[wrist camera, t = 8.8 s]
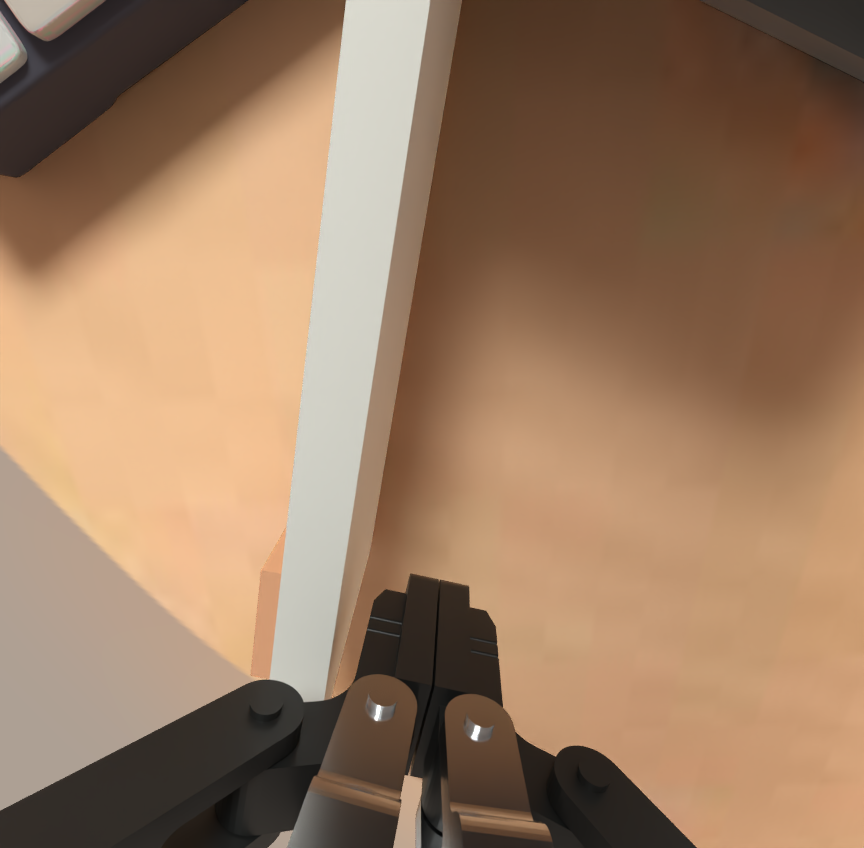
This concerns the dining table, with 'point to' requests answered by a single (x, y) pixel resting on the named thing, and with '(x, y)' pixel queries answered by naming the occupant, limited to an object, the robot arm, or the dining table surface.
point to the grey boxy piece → (808, 27)
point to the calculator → (82, 63)
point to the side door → (355, 330)
